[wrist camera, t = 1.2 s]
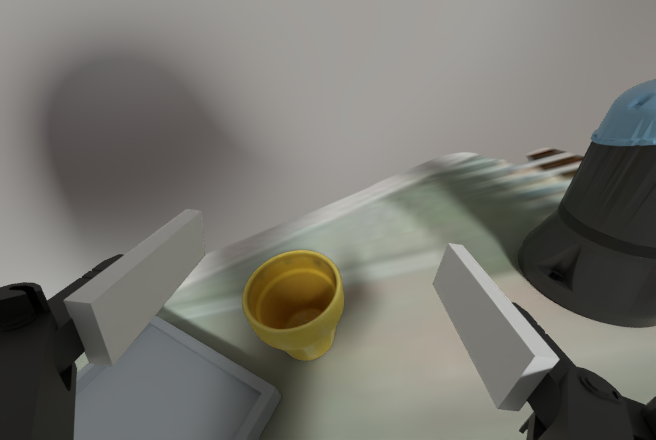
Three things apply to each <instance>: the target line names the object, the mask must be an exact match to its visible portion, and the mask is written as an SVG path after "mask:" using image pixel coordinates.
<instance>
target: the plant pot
mask: <svg viewBox="0 0 656 440" xmlns="http://www.w3.org/2000/svg"><path fill="white" fill-rule="evenodd" d="M242 307H243V311H244V314H245V316H246V318H247V320H248V322H249V323H250V325H251V327H252V328H253V330H254V331H255V333H256V334H257V335H258V336H259V338H260V339H261V340H262V341H264V342H265V343H266V344H268V345H270V346H272V347H274V348H277V349H282V350H284V351H285V352H286V353H288V354H289V355H290V356H291V357H293V358H295V359H297V360H302V361H309V360H314V359H316V358H319V357H320V356H322V355H323V354H325V353H326V352H327V351H328V350H329V348H330V347H331V345H332V343H333V341H334V338H335V333H336V326H337V323H338V322H339V320H340V318H341V315H342V312H343V308H344V290H343V284H342V279H341V275H340V272H339V270H338V268H337V267H336V265H335V264H334V263H333V262H332V261H331V260H330V259H329V258H328V257H326V256H324V255H323V254H320V253H318V252H314V251H309V250H294V251H289V252H285V253H282V254H279V255H277V256H275V257H273V258H271V259H269V260H267V261H266V262H264V263H263V264H262V265H261V266H259V267H258V268H257V269H256V270H255V271H254V272H253V274H252V275H251V276H250V278H249V279H248V281H247V283H246V285H245V288H244V291H243V295H242Z"/></svg>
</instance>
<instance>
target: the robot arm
mask: <svg viewBox="0 0 656 440" xmlns="http://www.w3.org/2000/svg"><path fill="white" fill-rule="evenodd" d="M591 139H592V142H591V144H590V146H589V148H588V150H587V152H586V154H585V156H584V158H583V160H582V162H581V164H580V166H579V168H578V170H577V172H576V174H575V176H574V178H573V179H572V181H571V183H570V185H569V187H568V189H567V191H566V193H565V195H564V197H563V199H562V201H561V203H560V205H559V207H558V208H557V210H556V211H555V212H554V213H553V214H551V215H550V216H549V217H548V218H547V219H546V220H544V221H543V222H542V223H541V224H540V225H539V226H537V227H536V228H535V229H534V230H533V231H532V232H531V233H529V234H528V236H527V237H526V238H525V240H524V242H523V244H522V246H521V248H520V250H519V254H518V261H519V265H520V267H521V269H522V271H523V273H524V275H525V276H526V277H527V279H528V280H529V281H530V282H531V283H532V284H533V285H534V286H535V287H536V288H537V289H538V290H539V291H541V292H542V293H543V294H544V295H546V296H547V297H548V298H550V299H551V300H553V301H555V302H556V303H558V304H560V305H561V306H563V307H565V308H567V309H569V310H571V311H573V312H575V313H577V314H580V315H582V316H585V317H587V318H590V319H593V320H596V321H600V322H603V323H607V324H612V325H616V326H623V327H634V328H643V327H652V326H656V79H653V80H650V81H647V82H644V83H641V84H639V85H636V86H634V87H632V88H631V89H628V90H627V91H625V92H624V93H623V94H621V95H620V96H619V97H618V98H617V99H616V100H615V101H614V103H613V104H612V106H611V108H610V109H609V111H608V113H607V114H606V116H605V118H604V119H603V121H602V123H601V125H600V126H599V128H598V129H597V130H595V131H594V133H593V134H592V136H591ZM204 256H205V246H204V236H203V225H202V213H201V211H198V210H190V209H186V210H185V211H183V212H182V213H180V214H179V215H178V216H176V217H175V218H174V219H172V220H171V221H170V222H168V223H167V224H166V225H164V226H163V227H161V228H160V229H159V230H157V231H156V232H155V233H153V234H152V235H151V236H149V237H148V238H147V239H145V240H144V241H143V242H141V243H140V244H139V245H137V246H136V247H134V248H133V249H132V250H131V251H129V252H128V253H126V254H125V255H122V254H119V255H116V256H114V257H112V258H109V259H107V260H105V261H103V262H102V263H100V264H99V265H97V266H96V267H95V268H93V269H92V271H89V272H88V273H86V274H85V275H83V276H82V278H79V279H77V280H76V281H75V282H73V283H72V284H70V285H69V286H67V287H66V288H65V289H63V290H62V291H60V292H59V293H57V294H56V295H55V296H53V297H52V298H50V299H49V300H46V297H45V295H44V293H43V291H42V288H41V286H40V285H38V284H35V283H25V282H24V283H17V284H11V285H7V286H3V287H0V440H74V421H75V400H76V379H77V367H76V364H75V362H74V361H75V360H76V359H77V358H78V357H79V356H80V355H81V354H82V353H83V352H84V351H85V354H86V356H87V359H88V361H89V363H90V364H99V365H108V366H113V365H114V364H115V363H116V362H117V361H118V359H119V358H120V357H121V356H122V355H123V353H124V352H125V351H126V350H127V349H128V347H129V346H130V345H131V344H132V343H133V341H134V340H135V339H136V338H137V337H138V335H139V334H140V333H141V332H142V331H143V329H144V328H145V327H146V326H147V325H148V323H149V322H150V321H151V320H152V319H153V317H154V316H155V315H156V314H157V313H158V311H159V310H160V309H161V308H162V307H163V305H164V304H165V303H166V302H167V301H168V299H169V298H170V297H171V296H172V295H173V293H174V292H175V291H176V290H177V289H178V287H179V286H180V285H181V284H182V283H183V281H184V280H185V279H186V278H187V277H188V275H189V274H190V273H191V272H192V271H193V269H194V268H195V267H196V266H197V265H198V263H199V262H200V261H201V260H202V259H203V257H204ZM433 286H434V288H435V290H436V291H437V293H438V295H439V297H440V299H441V301H442V303H443V305H444V307H445V309H446V311H447V313H448V315H449V317H450V319H451V320H452V322H453V324H454V326H455V328H456V330H457V332H458V334H459V336H460V338H461V340H462V342H463V344H464V346H465V348H466V349H467V351H468V353H469V355H470V357H471V359H472V361H473V363H474V365H475V367H476V369H477V371H478V373H479V375H480V377H481V378H482V380H483V382H484V384H485V386H486V388H487V390H488V392H489V394H490V396H491V398H492V400H493V402H494V404H495V406H496V407H497V409H502V410H511V411H519V410H520V409H521V408H522V407H523V405H524V404H525V403H526V401H528V403H529V404H530V406H531V407H532V409H533V411H534V412H533V413H532V414H531V416H530V417H529V418H528V419H527V420H526V422H525V423H524V424H523V425H522V427H521V428H520V430H519V431H520V432H521V433H522V434H523V433H524V432H525V430H526V429H528V432H527V439H526V440H656V397H654V398H653V399H652V400H651V401H650V402H649V403H647V404H646V405H645V404H642V403H639V402H637V401H634V400H631V399H629V398H626V397H623V396H621V394H620V393H619V392H618V391H617V390H616V389H615V388H614V387H613V386H612V385H611V384H610V383H608V382H607V381H606V380H605V379H603V378H602V377H600V376H598V375H597V374H595V373H593V372H591V371H589V370H587V369H584V368H580V367H576V366H575V365H574V363H573V362H572V361H571V360H570V359H569V358H568V357H567V356H566V355H565V353H564V352H563V351H562V350H561V349H560V348H559V347H558V346H557V344H556V343H555V342H554V341H553V340H552V339H551V338H550V337H549V335H548V334H545V331H544V330H543V329H542V328H541V327H540V325H537V322H536V321H535V320H534V319H533V318H532V316H531V315H530V314H529V313H528V312H527V311H525V310H524V309H523V308H521V307H520V306H519V305H517V304H516V303H513V302H511V301H510V300H509V299H508V298H507V297H506V296H505V294H504V293H503V292H502V291H501V290H500V289H499V287H498V286H497V285H496V284H495V283H494V282H493V280H492V279H491V278H490V277H489V276H488V275H487V273H486V272H485V271H484V270H483V269H482V268H481V266H480V265H479V264H478V263H477V262H476V260H475V259H474V258H473V257H472V256H471V255H470V253H469V252H468V251H467V250H466V249H465V248H464V246H463V245H458V244H450V243H448V245H447V248H446V250H445V253H444V256H443V258H442V261H441V263H440V266H439V268H438V271H437V274H436V276H435V279H434V281H433Z"/></svg>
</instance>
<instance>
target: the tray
mask: <svg viewBox="0 0 656 440" xmlns="http://www.w3.org/2000/svg"><path fill="white" fill-rule="evenodd" d="M281 398H282V396H281V395H280V393H279V391H278V390H277V388H276V387H274V386H273V385H271V384H269V383H268V382H266V381H264V380H263V379H261V378H259V377H258V376H256V375H254V374H253V373H251V372H249V371H248V370H246V369H244V368H243V367H241V366H239V365H238V364H236V363H234V362H233V361H231V360H229V359H228V358H226V357H224V356H223V355H221V354H219V353H218V352H216V351H214V350H213V349H211V348H209V347H208V346H206V345H204V344H203V343H201V342H199V341H198V340H196V339H194V338H193V337H191V336H189V335H188V334H186V333H184V332H183V331H181V330H179V329H178V328H176V327H175V326H173V325H171V324H170V323H168V322H166V321H165V320H163V319H161V318H160V317H158V316H156V315H155V316H154V317H153V319H152V320H151V321H150V322H149V323H148V325H147V326H146V327H145V328H144V329H143V331H142V332H141V333H140V334H139V335H138V337H137V338H136V339H135V340H134V341H133V343H132V344H131V345H130V346H129V347H128V349H127V350H126V351H125V352H124V353H123V355H122V356H121V357H120V358H119V359H118V361H117V362H116V363H115V364H114V365H113V366H108V365H99V364H90V363H88V364H87V365H86V366H85V367H83V368H82V369H81V370H80V371H79V372H78V373H77V379H76V400H75V421H74V440H258V439H259V438H260V436H261V434H262V432H263V430H264V428H265V427H266V425H267V423H268V421H269V419H270V418H271V416H272V414H273V412H274V410H275V409H276V407H277V405H278V403H279V401H280V399H281Z"/></svg>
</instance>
